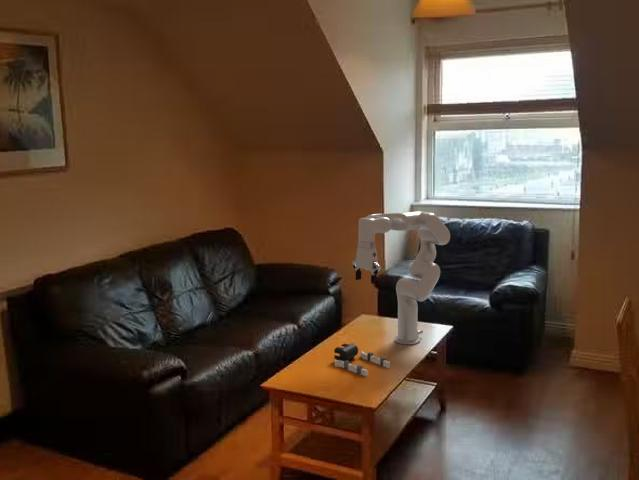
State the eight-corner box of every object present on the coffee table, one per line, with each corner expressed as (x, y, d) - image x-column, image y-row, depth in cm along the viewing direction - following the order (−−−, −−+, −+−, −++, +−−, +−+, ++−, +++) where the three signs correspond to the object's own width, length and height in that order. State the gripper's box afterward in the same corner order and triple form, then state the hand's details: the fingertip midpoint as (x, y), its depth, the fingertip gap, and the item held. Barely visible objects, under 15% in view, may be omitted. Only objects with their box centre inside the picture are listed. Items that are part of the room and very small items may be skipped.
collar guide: (362, 355, 311) (362, 348, 311) (392, 366, 298) (392, 358, 297) (333, 365, 300) (333, 358, 299) (363, 377, 286) (363, 369, 285)
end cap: (347, 365, 301) (347, 350, 299) (333, 362, 304) (333, 347, 303) (358, 358, 309) (358, 344, 307) (345, 355, 313) (345, 341, 311)
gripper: (386, 246, 302) (385, 283, 305) (358, 241, 315) (358, 277, 318) (375, 248, 297) (374, 286, 300) (347, 243, 310) (346, 279, 312)
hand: (365, 281), depth 309 cm, fingers open, 9 cm apart
